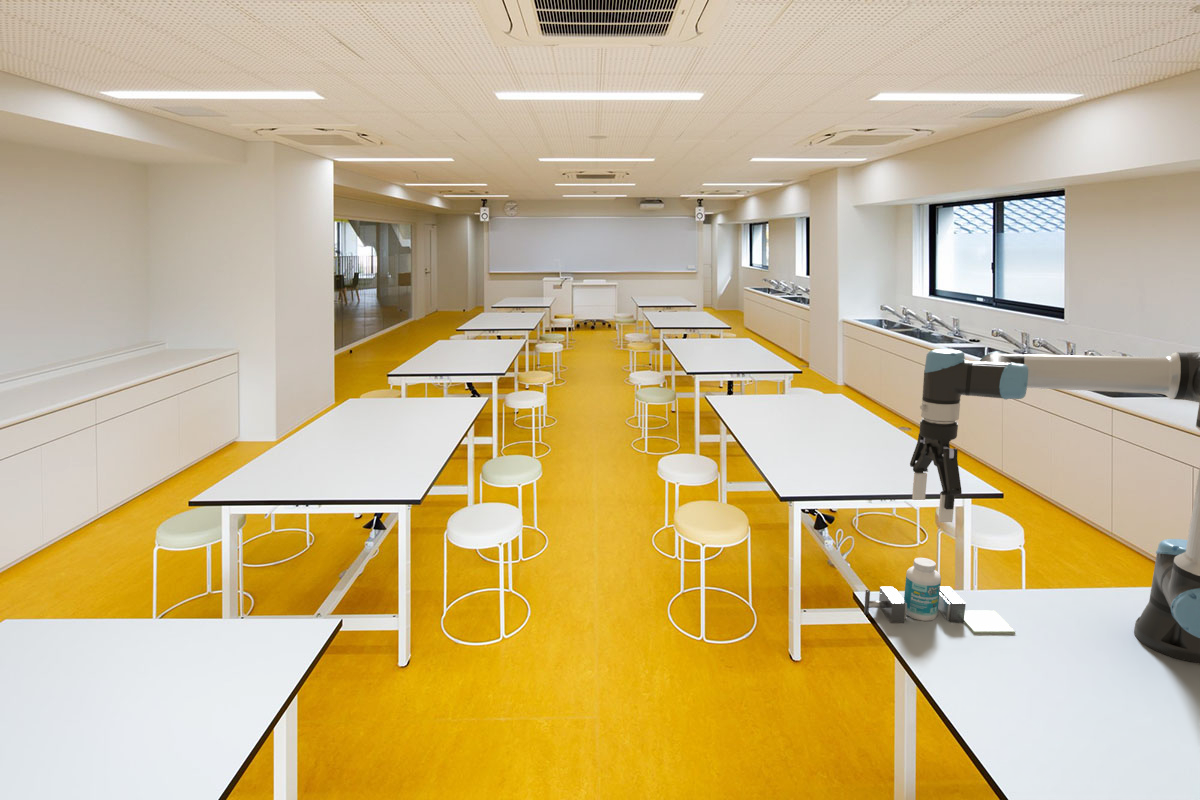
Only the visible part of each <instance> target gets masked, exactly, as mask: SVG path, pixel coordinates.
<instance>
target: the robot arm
mask: <svg viewBox="0 0 1200 800" xmlns="http://www.w3.org/2000/svg"><path fill="white" fill-rule="evenodd" d="M924 365H925V366H924V372H923V384H922V399H921V401H922V402H921V405H920V406H919V408H920V410H921V411H920V412H921V414H920V417H921V419H920V422H919V433H918V436H917V442H916V445H915V448H914V451H913V454H912V457H911V459H910V462H909V466H910V467H911V468H912V471H913V474H914V475H913V483H912V495H911V496H912V497H911V499H912V500H913V501H917V500H918V501H921V500H922V501H924V500H925V501H926V492H927V491H926V490H927V480H928V478H927V477H928V472H929V469H928V468H929V466H930V465H931V463H932V462H933V465H934V466H935V467H936V470H937V473H938V476H939V481H940V485H941V489H942V491H940V492H939V494H940V499H939V508H938V518H937V519H938V520H937V521H938V522H939V523H953V517H954V509H955V507H954V506H955V498H956V496H961V495H962V494H963V493H962V486H961V478H960V470H959V469H960V468H959V461H958V451H959V450H958V449H957V447H956V448H951V446H950V442H951V441H954V440H956V439H957V437H958V429H959V428H958V427H959V422H957V421H958V420H959V419H960V409H961V397H962V396H967V397H969V396H972V397H980V398H982V397H984V398H995V399H1003V400H1022V399H1024V398H1025V397H1026V395H1027V391H1028V390H1027V389H1041V390H1042V389H1046V390H1067V391H1068V390H1069V391H1088V392H1091V391H1093V392H1110V393H1112V392H1113V393H1131V394H1132V393H1134V394H1135V393H1137V394H1157V395H1158V394H1160V395H1165V396H1166V397H1167V398H1169V399H1170V400H1180V401H1181V400H1182V401H1189V402H1195V403H1198V410H1197V417H1196V423H1195V427H1196V428H1197V429H1198V431H1200V351H1197V352H1190V351H1188V352H1182V351H1180V352H1179V351H1178V352H1176V351H1175V352H1173V353H1171V354H1170V355H1168V356H1163V357H1162V356H1131V355H1130V356H1127V355H1126V356H1121V355H1117V356H1116V355H1115V356H1114V355H1075V354H1073V355H1071V354H1068V355H1066V354H1030V353H1029V354H1027V353H1026V354H1025V353H1024V354H1018V353H1017V354H1016V353H1006V352H1003V351H992V352H989V353H987V354H984V356H983V357H981V358H980V360H979V361H977V360H976V361H973V360H969V359H968V360H967V359H966V357H965V352H963V351H962V350H957V349H951V348H950V349H947V348H946V349H945V348H943V349H942V348H940V349H933V350H929V352H928V353H927V354H926V358H925V364H924ZM1195 487H1196V488H1195V493H1194V498H1193V499H1194V500H1193V503H1192V504H1193V506H1192V512H1191V517H1190V524H1189V529H1188V536H1187V539H1182V538H1167V539H1163V540H1161V541H1160V542H1159V544H1158V547H1157V550H1156V551H1155V554H1156V557H1155V563H1154V568H1153V569H1154V570H1153V575H1152V580H1151V581H1152V582H1151V588H1150V595H1149V600H1148V603H1147V604H1146V606H1145V608H1144V609H1143V611H1142V613H1140V614H1141V615H1140V616H1139V617H1138V618H1137V619H1136V620H1135V623H1134V629H1133V634H1134V636H1135V637H1136V639H1138V641H1139V642H1141V643H1142V644H1143V645H1145V646H1147V647H1148V648H1150V649H1152V650H1154V651H1156V652H1159V653H1161V654H1163V655H1166V656H1168V657H1172V658H1174V659H1179V660H1182V661H1188V662H1193V663H1200V467H1199V469H1198V476H1197V481H1196V486H1195Z"/></svg>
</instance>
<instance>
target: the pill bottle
mask: <svg viewBox="0 0 1200 800" xmlns="http://www.w3.org/2000/svg"><path fill="white" fill-rule="evenodd" d="M912 564H913V565H912V566H911V567H909V568H908V569H907V570H906V573H905V574H906V575H905V582H904V583H905V584H904V585H905V587H904V596H903V599H904V600H905V602H906V603H907V612H906V616H908V617H910V618H912V619H913V620H916V621H917V620H918V621H922V622H923V621H924V622H925V621H926V622H928V621H929V622H930V621H933V620H934V619H936V618H937V616H938V614H939V613H938V611H939V609H938V604H939V594H940V587H941V582H942V577H941V576H942V575H941V574H940V573H939V571H937V570H936V564H937V563H936V562H935V561H934V560H932V559H931V558H927V557H915V558H914V559H913V563H912Z"/></svg>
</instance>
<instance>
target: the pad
mask: <svg viewBox="0 0 1200 800" xmlns="http://www.w3.org/2000/svg"><path fill="white" fill-rule="evenodd" d="M963 624H965V625H966V626H967V628H968V629H969V630H970V631H971V632H972V634H974V635H975V634H977V635H978V634H980V635H981V634H982V635H983V634H985V635H987V634H988V635H989V634H991V635H992V634H994V635H995V634H996V635H1002V634H1003V635H1007V634H1009V635H1011V634H1012V635H1014V634H1016V630H1014V628H1013V627H1011V626H1010V624H1009V623H1008V622H1006V620H1005V619H1004V618H1003V617H1002V616H1001V615H999V613H998V612H996V610H965V615H964V623H963Z"/></svg>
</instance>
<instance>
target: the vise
mask: <svg viewBox="0 0 1200 800" xmlns="http://www.w3.org/2000/svg"><path fill="white" fill-rule="evenodd" d="M952 591H953V592H952ZM864 592H865V594H864V596H865V597H864V610H863V611H864V612H863V615H865V616H868V615H869V612H870V609H871V608H872V609H881V611H882V612H883V614H884V615H885V616H886V618H887V620H888V621H889V622H890V624H893V623H894V624H899V623H900V624H904V623H905V620H907V614H906V612H907V603H906V602H905V600H904V597H902V595H901V594H900V593H899V592H898V590H897V589H896V588H894V586H879V598H878V600H870V599H871V590H870V589H865V591H864ZM880 593H882V594H880ZM938 611H940V613H941V614H942V615H943V616H944V618H945V619H946V620H948V622H949V623H951V624H965V623H964V615H965V611H966V602H965V601H964V600H963V599H962V598H961V597H960V595H958V594H957V592H956V591H954V589H953V588H952V587H951V586H940V594H939V604H938Z"/></svg>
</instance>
